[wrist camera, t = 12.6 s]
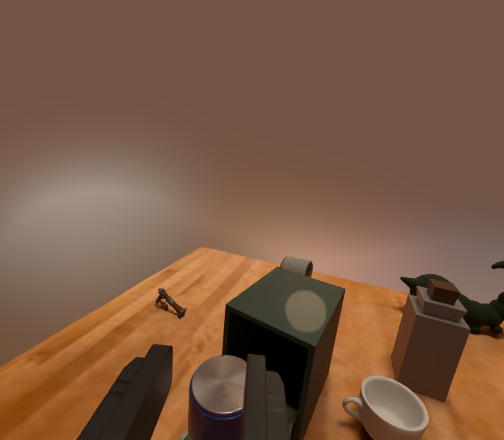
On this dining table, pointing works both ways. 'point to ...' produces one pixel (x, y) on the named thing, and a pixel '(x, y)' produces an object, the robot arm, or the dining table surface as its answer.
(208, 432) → the navy can
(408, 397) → the teacup
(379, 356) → the dining table surface
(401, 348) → the perfume bottle
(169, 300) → the dark brown angled piece
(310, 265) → the ceramic mug
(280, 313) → the cubby
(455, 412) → the dining table surface
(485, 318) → the toy figurine
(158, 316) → the dining table surface
